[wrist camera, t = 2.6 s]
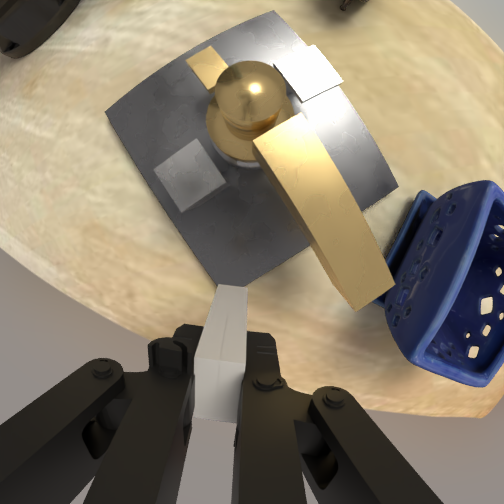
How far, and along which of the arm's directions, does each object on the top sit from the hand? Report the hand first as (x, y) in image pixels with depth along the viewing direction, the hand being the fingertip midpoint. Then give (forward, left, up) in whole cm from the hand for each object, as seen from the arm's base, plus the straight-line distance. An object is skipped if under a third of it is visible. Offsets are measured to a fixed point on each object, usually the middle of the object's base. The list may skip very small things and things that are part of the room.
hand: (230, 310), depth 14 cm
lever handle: (-6, +7, -5) cm, 10 cm away
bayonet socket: (-8, +7, -10) cm, 15 cm away
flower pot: (+11, +16, -11) cm, 22 cm away
